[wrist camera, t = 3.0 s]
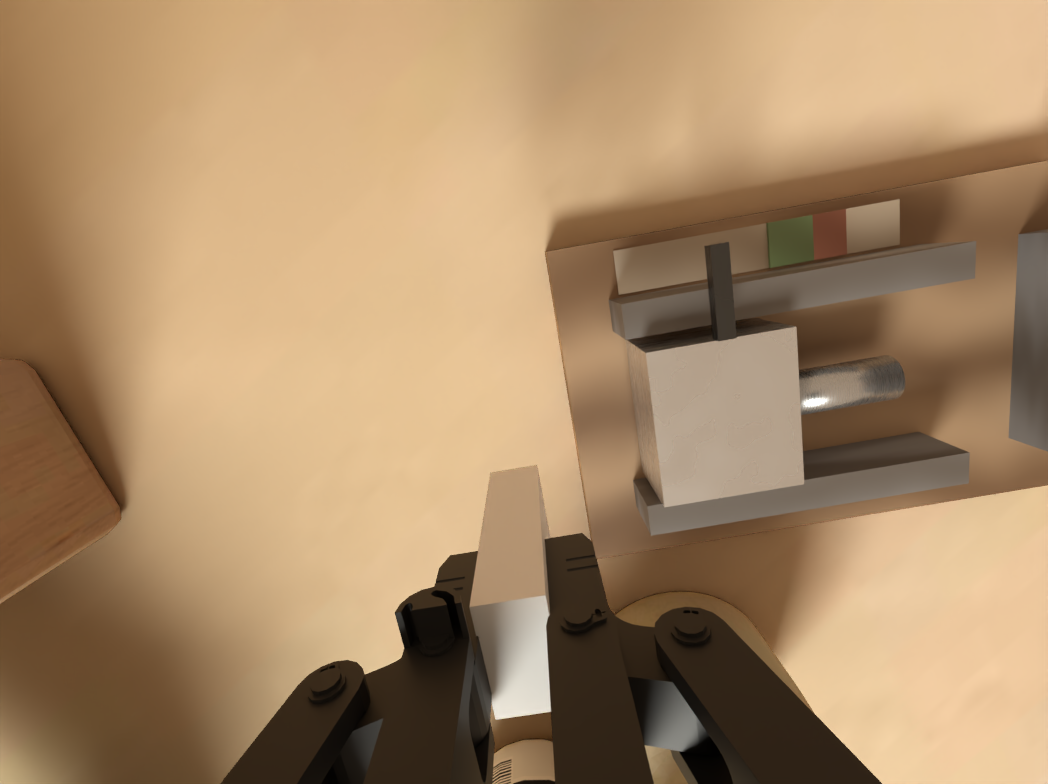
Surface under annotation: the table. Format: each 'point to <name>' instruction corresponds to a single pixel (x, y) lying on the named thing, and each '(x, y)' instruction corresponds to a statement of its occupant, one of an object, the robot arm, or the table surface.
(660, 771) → the sugar bowl
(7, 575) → the block
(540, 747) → the supplement can
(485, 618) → the robot arm
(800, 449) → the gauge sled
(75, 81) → the table surface
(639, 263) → the gauge bed
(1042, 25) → the table surface
